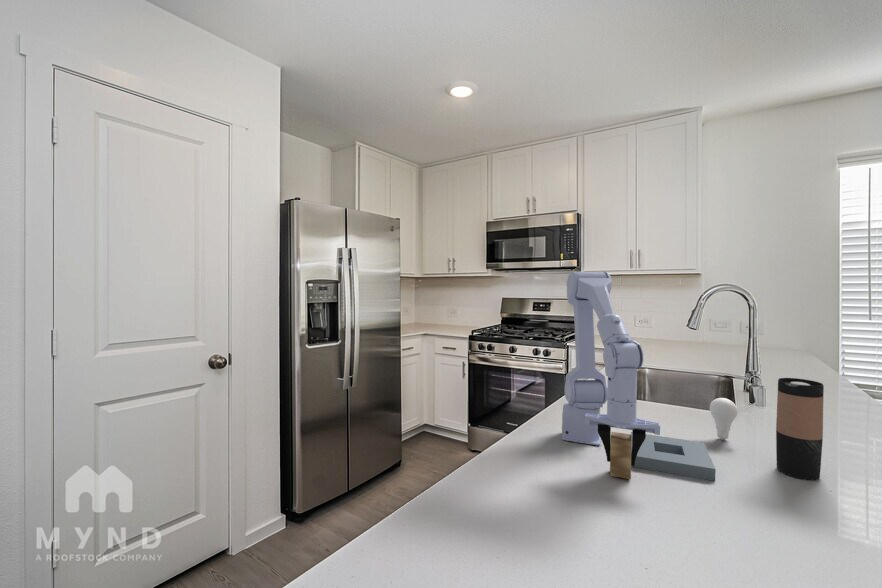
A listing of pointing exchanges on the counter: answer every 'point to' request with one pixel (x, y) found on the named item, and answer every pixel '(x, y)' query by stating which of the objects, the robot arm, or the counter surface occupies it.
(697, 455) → the socket block
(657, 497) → the counter surface
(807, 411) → the travel mug
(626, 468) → the peg
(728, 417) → the lightbulb
